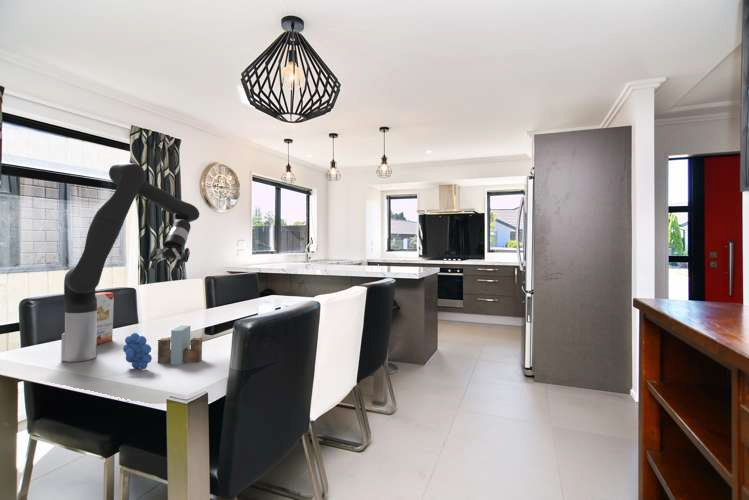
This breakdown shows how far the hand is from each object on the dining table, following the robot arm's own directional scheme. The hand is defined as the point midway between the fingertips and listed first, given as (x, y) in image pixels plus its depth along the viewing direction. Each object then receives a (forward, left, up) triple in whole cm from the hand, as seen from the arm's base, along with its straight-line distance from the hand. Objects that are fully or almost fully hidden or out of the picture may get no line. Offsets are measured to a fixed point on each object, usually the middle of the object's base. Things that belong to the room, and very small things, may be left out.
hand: (164, 268), depth 153 cm
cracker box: (-32, +11, -33) cm, 47 cm away
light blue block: (+12, -15, -33) cm, 38 cm away
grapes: (+1, -25, -33) cm, 41 cm away
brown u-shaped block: (+12, -16, -33) cm, 38 cm away
